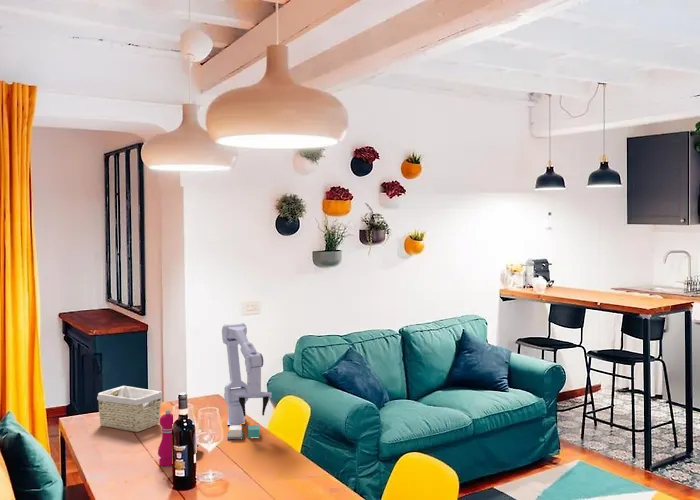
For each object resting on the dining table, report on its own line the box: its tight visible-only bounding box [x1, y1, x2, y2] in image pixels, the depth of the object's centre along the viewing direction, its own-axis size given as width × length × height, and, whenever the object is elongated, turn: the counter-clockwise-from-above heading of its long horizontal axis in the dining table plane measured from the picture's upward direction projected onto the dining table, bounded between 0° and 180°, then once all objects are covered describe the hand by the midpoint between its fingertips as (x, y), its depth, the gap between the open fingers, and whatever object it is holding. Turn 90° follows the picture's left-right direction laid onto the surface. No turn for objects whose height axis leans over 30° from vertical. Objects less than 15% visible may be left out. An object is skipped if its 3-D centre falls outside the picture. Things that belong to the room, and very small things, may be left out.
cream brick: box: [228, 425, 243, 437], centre depth 273 cm, size 6×5×3 cm
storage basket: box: [96, 385, 163, 433], centre depth 288 cm, size 24×16×15 cm
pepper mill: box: [157, 409, 174, 467], centre depth 243 cm, size 7×7×20 cm
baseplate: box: [227, 430, 244, 439], centre depth 273 cm, size 7×6×1 cm
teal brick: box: [247, 424, 260, 438], centre depth 274 cm, size 6×4×4 cm
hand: (253, 415), depth 274 cm, fingers open, 7 cm apart
